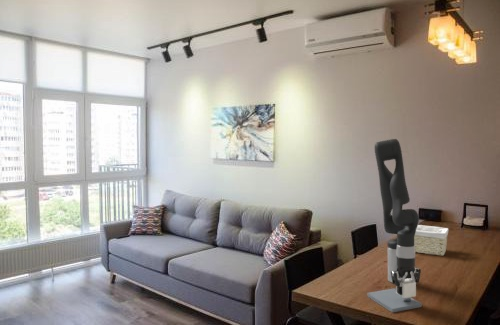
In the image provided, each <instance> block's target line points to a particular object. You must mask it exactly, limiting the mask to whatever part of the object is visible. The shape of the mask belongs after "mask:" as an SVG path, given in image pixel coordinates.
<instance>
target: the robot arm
mask: <svg viewBox="0 0 500 325" xmlns="http://www.w3.org/2000/svg"><path fill="white" fill-rule="evenodd" d="M374 153H375V154H374V155H375V159H376V160H375V161H376V165H377V166H376V167H377V170H378V178H379V189H380V197H381V202H382V211H383V212H382V214H383V216H382V217H383V228H384V231H385V233H387V234H392V235H396V238H392V239H390V240H388V241H387V246H386V247H387V281H388V282H390V283H392V285H394V286H397V293H398V294H399V295H402V283H403V282H404V281H405V279H407V278H408V279H409V280H412V281H414V282H416V284H418V283H419V282H420V278H421V271H422V270H421V268H418V267H416V252H415V246H414V236H415V233H416V229H417V226H418V225H419V220H420V218H419V216H420V215H419V214H418V212H417V210H416V209H413V208H407V209H405V208H404V209H403V206H405V205H406V204H409V203H410V200H411V199H410V194H409V191H408V186H407V183H406V175H405V167H404V158H403V153H402V148H401V144H400V141H399V140H398V139H397V138H391V139H386V140H380V141H377V142H375V143H374ZM392 160H393V161H394V160H395V167H394V172H393V173H392V172H391V170H389V168H388V167H387V165H386V164H385V162H386V161H392ZM399 281H400V283H399Z"/></svg>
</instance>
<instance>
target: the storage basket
mask: <svg viewBox="0 0 500 325" xmlns="http://www.w3.org/2000/svg"><path fill="white" fill-rule="evenodd" d="M448 234H449V228H448V227H441V226H433V225H432V226H431V225H424V224H423V225H422V224H418V226H417V229H416V233H415V236H414V246H415V253H418V254H420V253H421V254H426V255H434V256H444V255H445V254H446V251H447V243H448Z"/></svg>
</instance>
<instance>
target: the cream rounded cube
mask: <svg viewBox="0 0 500 325" xmlns="http://www.w3.org/2000/svg"><path fill="white" fill-rule="evenodd" d="M399 283H400V281H399ZM416 285H417V283H416V282H414V281H412V280H409V279H408V278H407V279H405V281H404V282H403V283H402V295H401V296H402V297H404V298H407V297H411V298H413V297H416V296H417V286H416ZM395 286H396V285H395ZM395 289H396V293H397V286H396V287H395ZM397 294H398V293H397Z"/></svg>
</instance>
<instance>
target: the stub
mask: <svg viewBox="0 0 500 325" xmlns="http://www.w3.org/2000/svg"><path fill="white" fill-rule="evenodd" d="M411 298H412V297H407V298H404V297H403V301H404V302H411Z"/></svg>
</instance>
